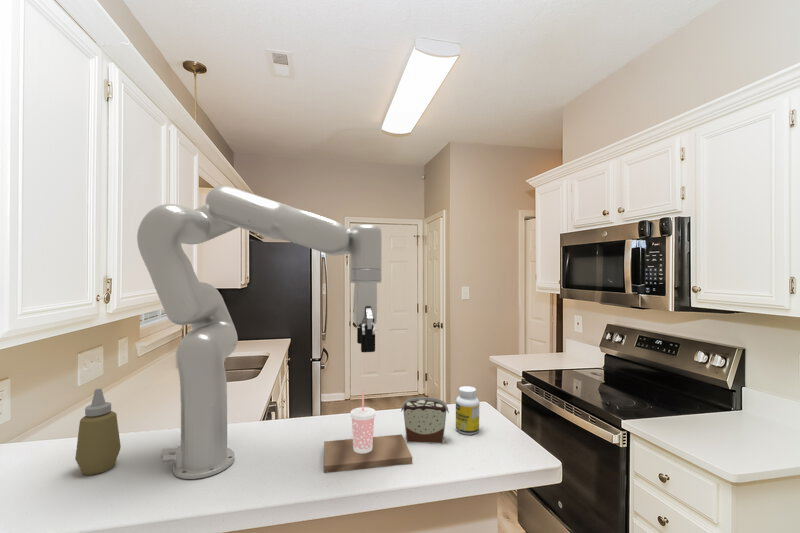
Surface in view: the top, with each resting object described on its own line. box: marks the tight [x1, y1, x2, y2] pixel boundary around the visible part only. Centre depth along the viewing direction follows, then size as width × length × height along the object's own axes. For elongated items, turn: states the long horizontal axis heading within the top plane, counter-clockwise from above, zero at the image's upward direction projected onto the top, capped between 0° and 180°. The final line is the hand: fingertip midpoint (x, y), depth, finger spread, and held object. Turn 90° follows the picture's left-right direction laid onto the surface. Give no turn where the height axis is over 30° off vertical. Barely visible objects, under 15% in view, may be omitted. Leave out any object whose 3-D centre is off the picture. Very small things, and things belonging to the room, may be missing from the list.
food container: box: [400, 396, 450, 445], centre depth 101 cm, size 12×6×10 cm, turn 85°
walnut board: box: [323, 434, 413, 474], centre depth 92 cm, size 20×12×2 cm, turn 101°
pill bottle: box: [455, 385, 480, 436], centre depth 106 cm, size 6×6×12 cm
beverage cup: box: [349, 390, 376, 453], centre depth 92 cm, size 6×6×14 cm
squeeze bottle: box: [74, 388, 121, 476], centre depth 86 cm, size 8×8×18 cm
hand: (365, 347), depth 92 cm, fingers open, 9 cm apart
